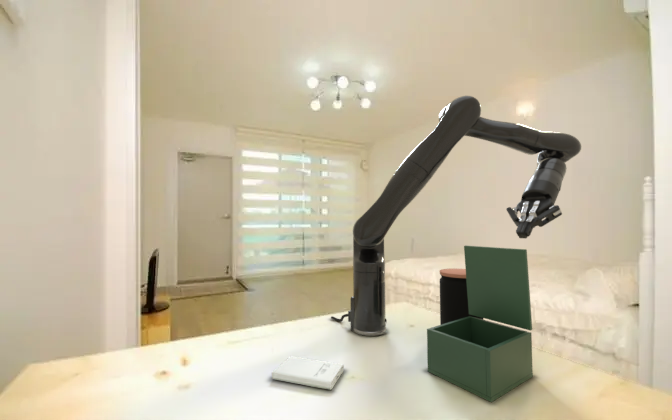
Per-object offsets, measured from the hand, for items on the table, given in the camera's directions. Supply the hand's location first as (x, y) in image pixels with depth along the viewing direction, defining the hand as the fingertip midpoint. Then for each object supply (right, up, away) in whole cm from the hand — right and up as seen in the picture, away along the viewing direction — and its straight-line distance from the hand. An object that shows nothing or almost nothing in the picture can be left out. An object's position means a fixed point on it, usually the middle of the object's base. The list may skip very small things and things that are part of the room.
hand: (521, 236), depth 76 cm
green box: (-16, -27, -12) cm, 34 cm away
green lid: (-11, -10, -8) cm, 17 cm away
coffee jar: (-12, -28, +6) cm, 31 cm away
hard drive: (-51, -28, -13) cm, 59 cm away
